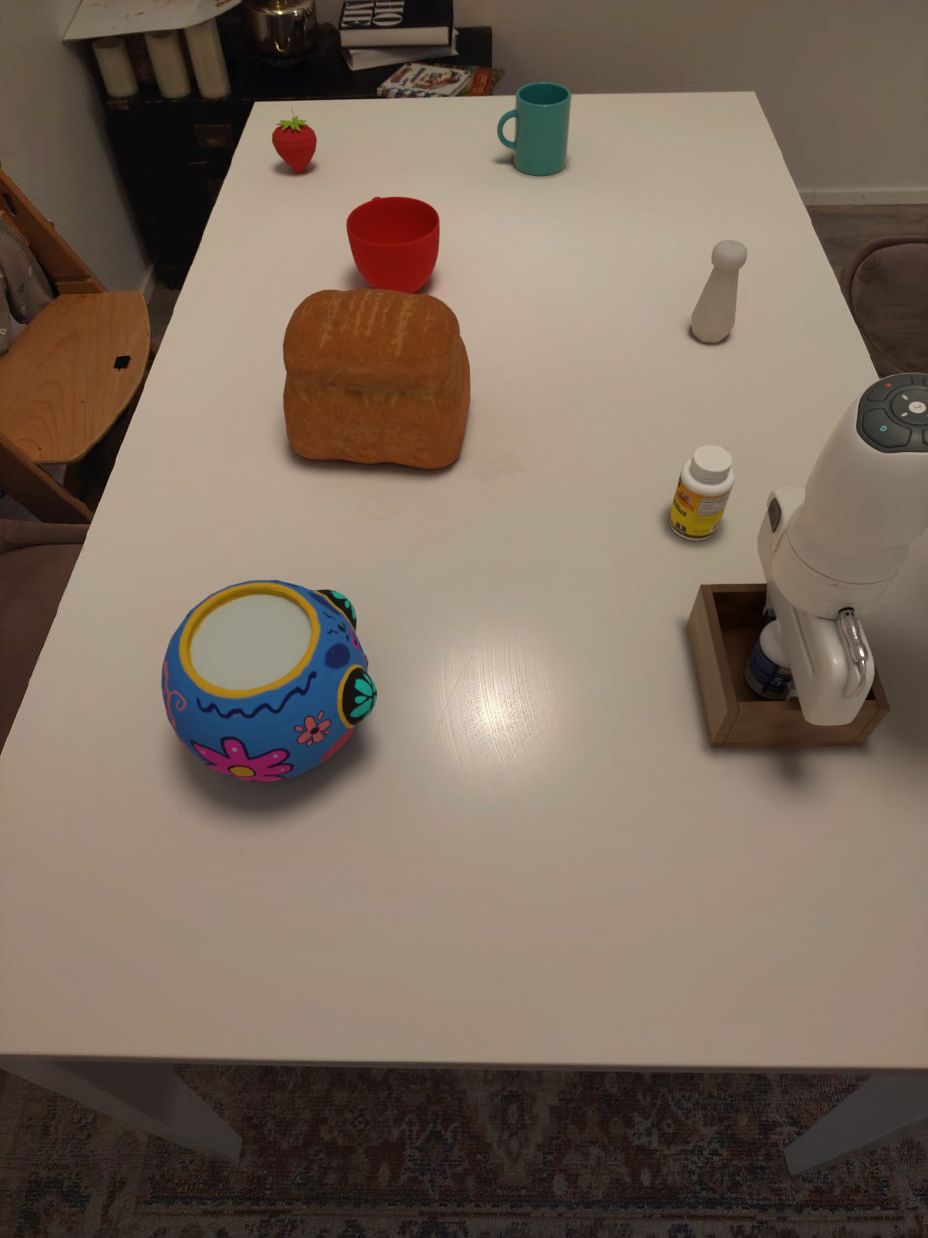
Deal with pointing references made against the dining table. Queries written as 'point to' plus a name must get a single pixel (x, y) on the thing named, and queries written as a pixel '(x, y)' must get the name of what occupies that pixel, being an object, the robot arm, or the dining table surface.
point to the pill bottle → (769, 664)
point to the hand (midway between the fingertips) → (782, 658)
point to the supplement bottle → (702, 493)
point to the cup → (539, 128)
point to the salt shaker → (719, 293)
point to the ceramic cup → (394, 242)
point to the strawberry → (295, 143)
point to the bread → (376, 378)
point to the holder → (730, 706)
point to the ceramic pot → (267, 679)
